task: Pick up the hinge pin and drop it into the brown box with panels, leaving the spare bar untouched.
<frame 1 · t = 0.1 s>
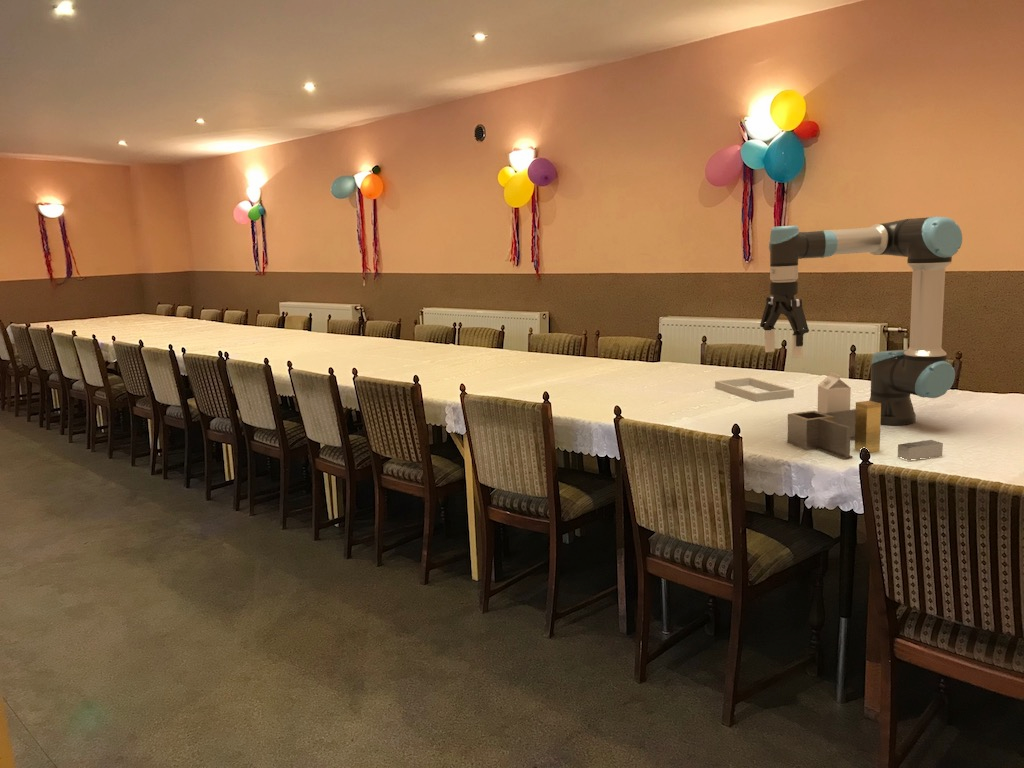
hand: (783, 354, 217), 28 cm above the table, fingers open, 13 cm apart
brown box with panels: (810, 444, 224), on the table
milk carton: (833, 433, 235), on the table
parts tray frame: (752, 392, 301), on the table
hinge pin: (866, 450, 215), on the table
spare bar: (919, 457, 206), on the table
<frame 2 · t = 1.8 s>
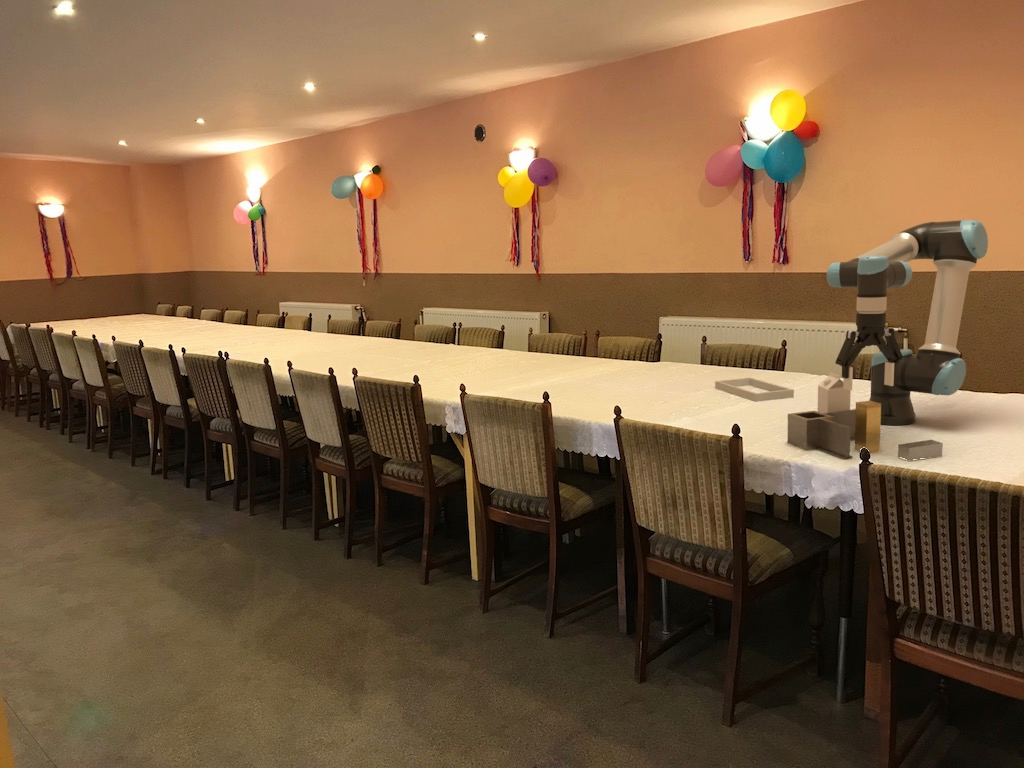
hand: (868, 387, 211), 18 cm above the table, fingers open, 13 cm apart
nothing on the table moved.
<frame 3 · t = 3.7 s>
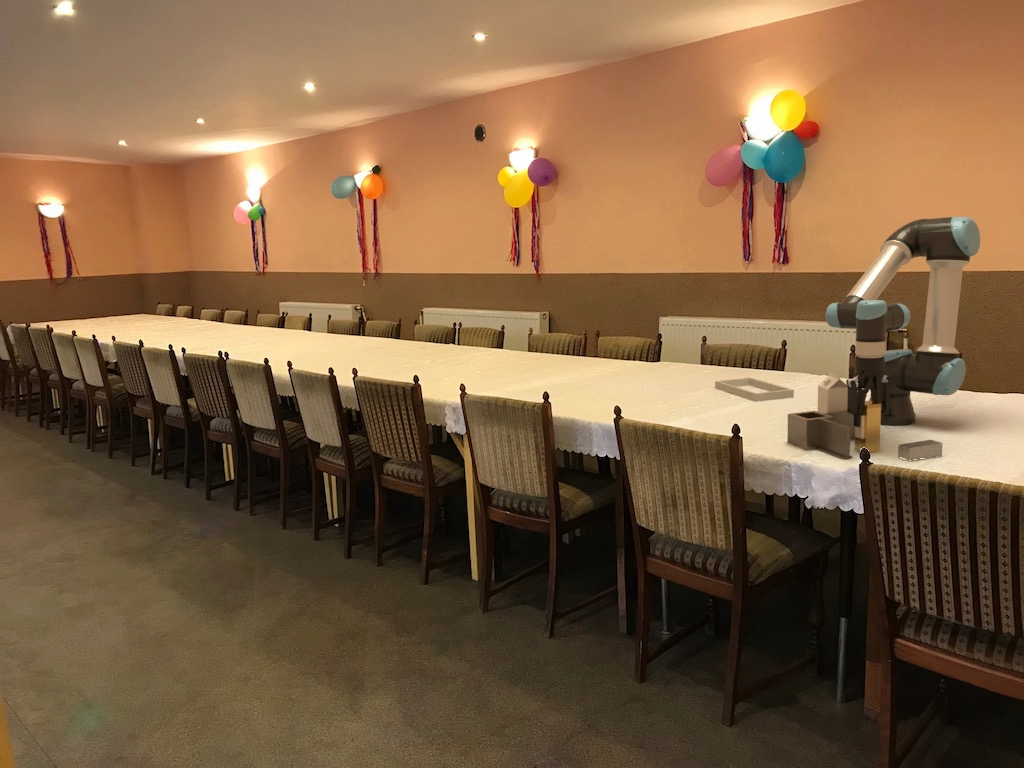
hand: (867, 436, 214), 4 cm above the table, fingers closed on hinge pin, 5 cm apart
hinge pin: (866, 450, 215), on the table, touching gripper
everything else where it was.
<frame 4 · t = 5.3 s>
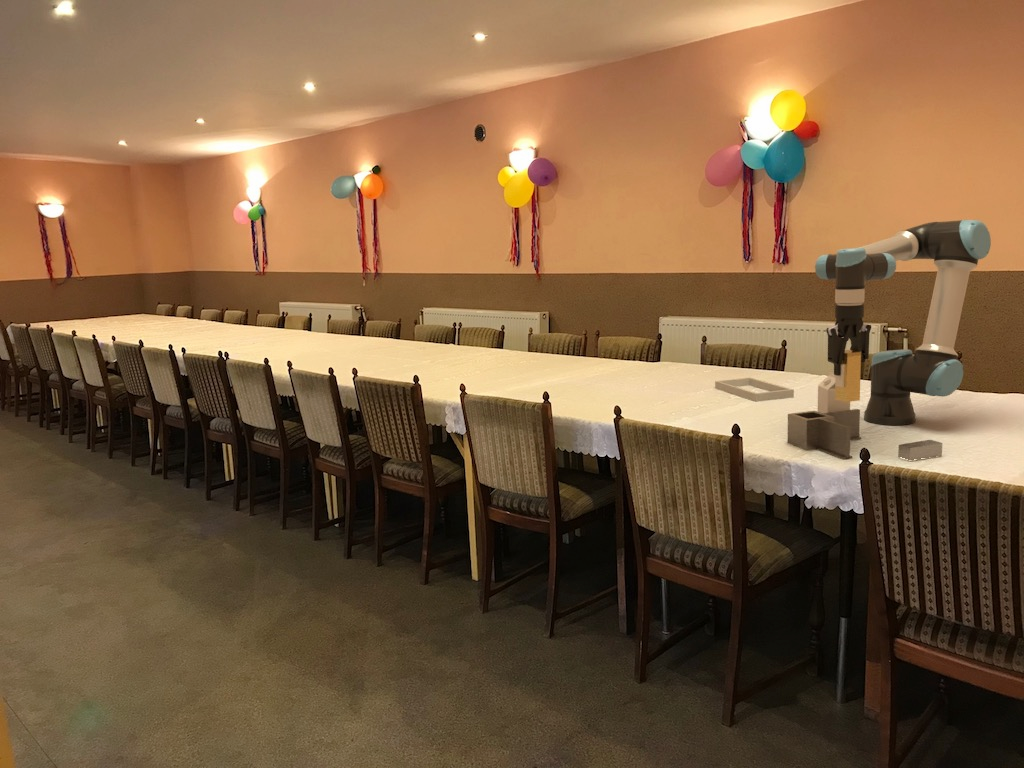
hand: (847, 385, 214), 19 cm above the table, fingers closed on hinge pin, 5 cm apart
hinge pin: (847, 399, 215), point 14 cm above the table, touching gripper
everything else where it was.
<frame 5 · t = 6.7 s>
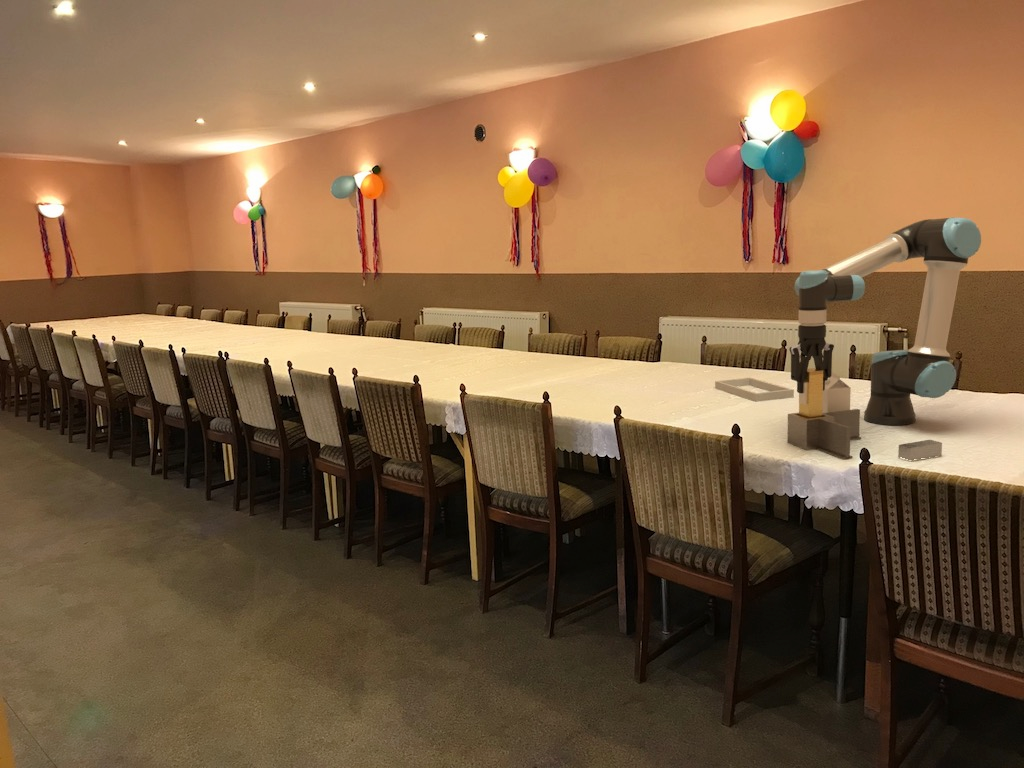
hand: (810, 402, 221), 13 cm above the table, fingers closed on hinge pin, 5 cm apart
hinge pin: (810, 416, 222), point 9 cm above the table, touching gripper
everything else where it was.
when the fingers open (11 cm above the table, at t = 7.3 s): hinge pin drops 6 cm, resting in brown box with panels.
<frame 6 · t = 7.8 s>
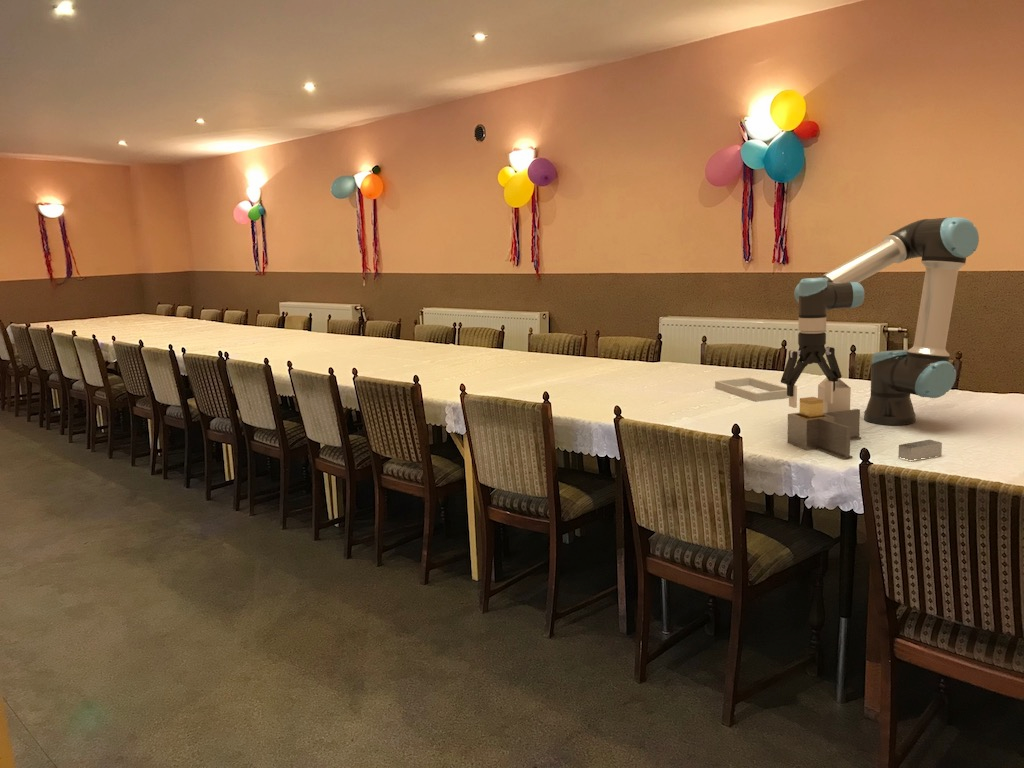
hand: (810, 404, 222), 12 cm above the table, fingers open, 11 cm apart
hinge pin: (810, 444, 224), resting in brown box with panels
everything else where it was.
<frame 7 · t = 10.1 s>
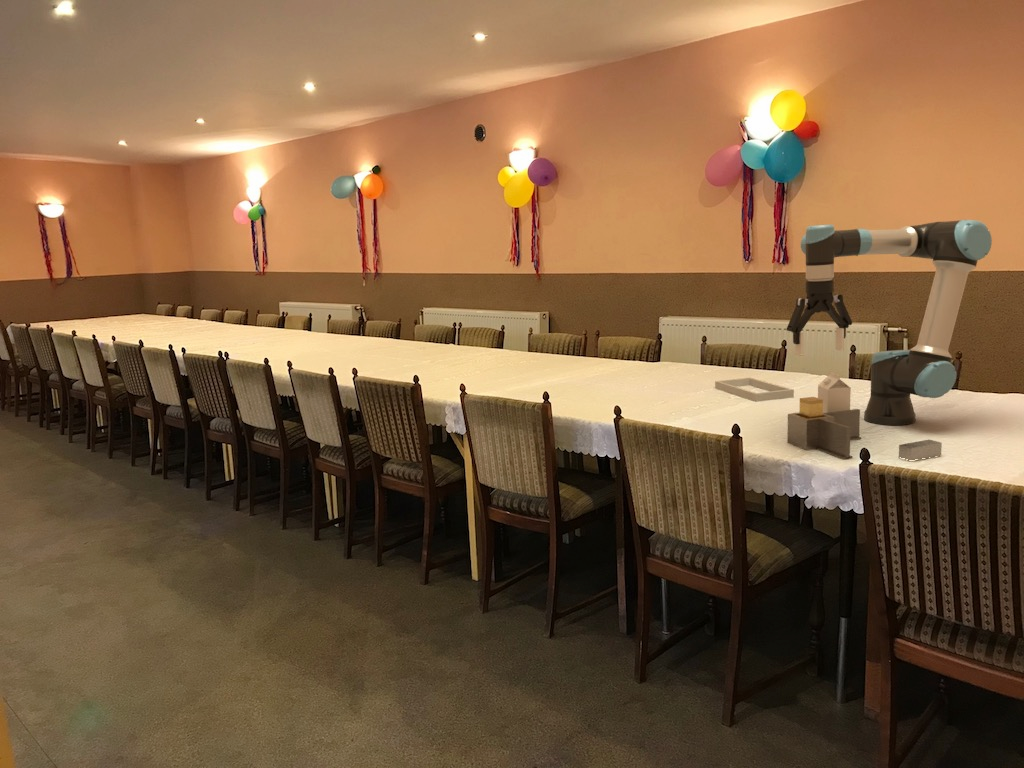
hand: (819, 352, 219), 28 cm above the table, fingers open, 13 cm apart
nothing on the table moved.
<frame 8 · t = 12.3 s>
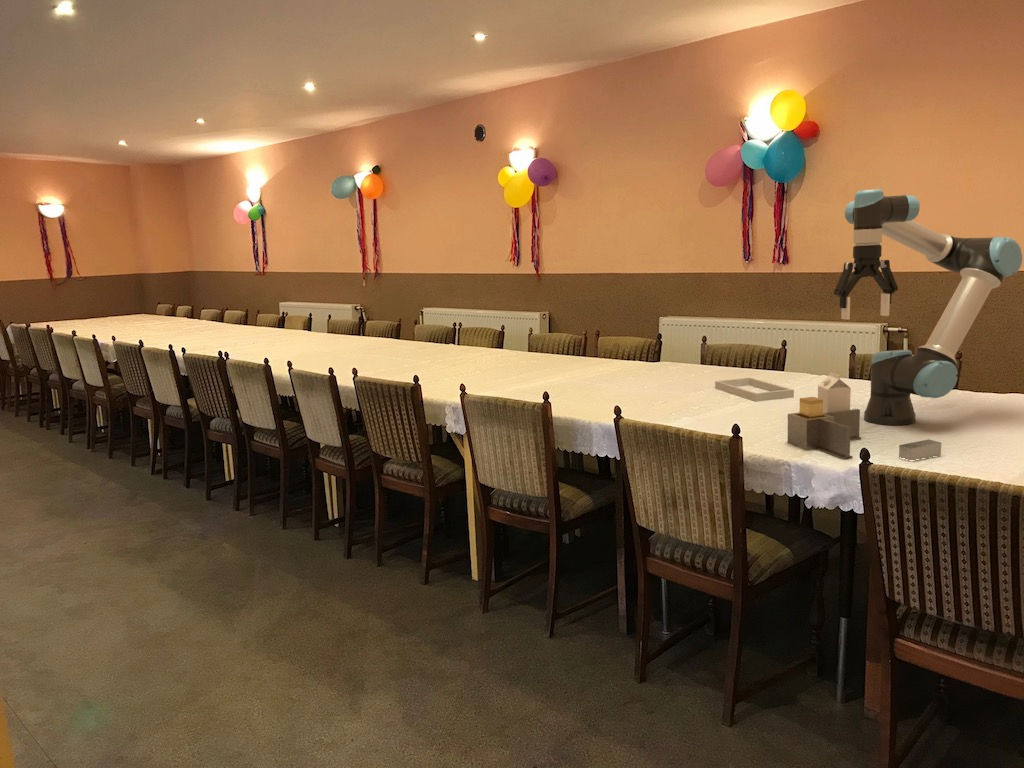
hand: (865, 317, 221), 37 cm above the table, fingers open, 13 cm apart
nothing on the table moved.
at the end: hinge pin 0.1 cm off-centre on the brown box with panels, point 0.0 cm above the brown box with panels's base; hinge pin tilted 0°; the gripper is holding nothing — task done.
